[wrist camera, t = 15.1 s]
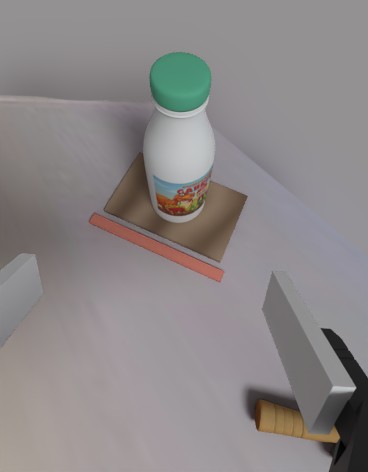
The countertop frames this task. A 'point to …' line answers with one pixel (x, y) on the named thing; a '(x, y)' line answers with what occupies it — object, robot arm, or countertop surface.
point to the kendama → (286, 422)
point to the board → (187, 233)
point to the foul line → (157, 247)
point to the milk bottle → (179, 137)
